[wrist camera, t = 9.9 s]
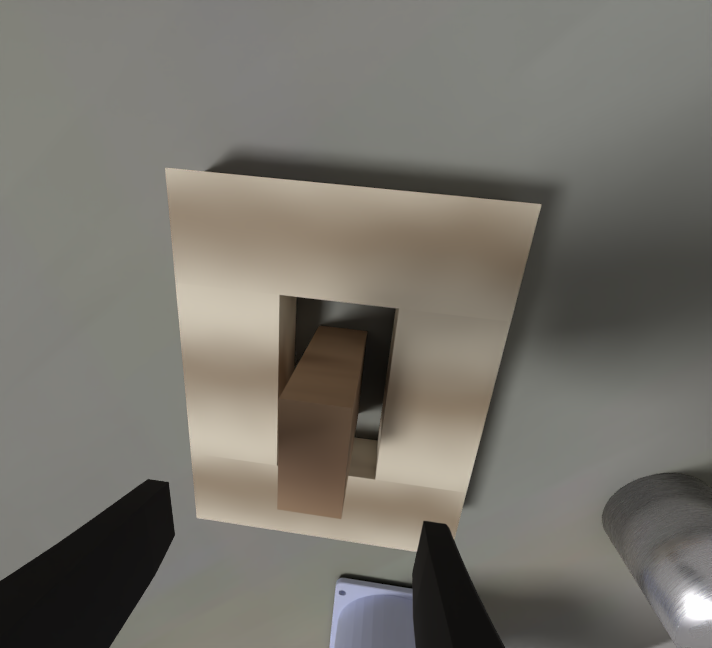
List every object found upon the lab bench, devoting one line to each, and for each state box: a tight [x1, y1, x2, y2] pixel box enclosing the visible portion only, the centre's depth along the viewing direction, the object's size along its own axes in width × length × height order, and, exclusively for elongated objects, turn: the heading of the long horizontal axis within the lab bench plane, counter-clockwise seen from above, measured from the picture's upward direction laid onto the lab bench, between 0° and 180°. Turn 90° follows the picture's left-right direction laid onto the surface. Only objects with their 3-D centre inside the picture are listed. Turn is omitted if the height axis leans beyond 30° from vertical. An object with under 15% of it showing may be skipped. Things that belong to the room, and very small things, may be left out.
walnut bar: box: [277, 325, 367, 519], centre depth 16 cm, size 5×2×7 cm, turn 175°
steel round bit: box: [602, 473, 712, 648], centre depth 18 cm, size 6×6×6 cm
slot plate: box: [165, 168, 542, 552], centre depth 18 cm, size 18×14×3 cm
